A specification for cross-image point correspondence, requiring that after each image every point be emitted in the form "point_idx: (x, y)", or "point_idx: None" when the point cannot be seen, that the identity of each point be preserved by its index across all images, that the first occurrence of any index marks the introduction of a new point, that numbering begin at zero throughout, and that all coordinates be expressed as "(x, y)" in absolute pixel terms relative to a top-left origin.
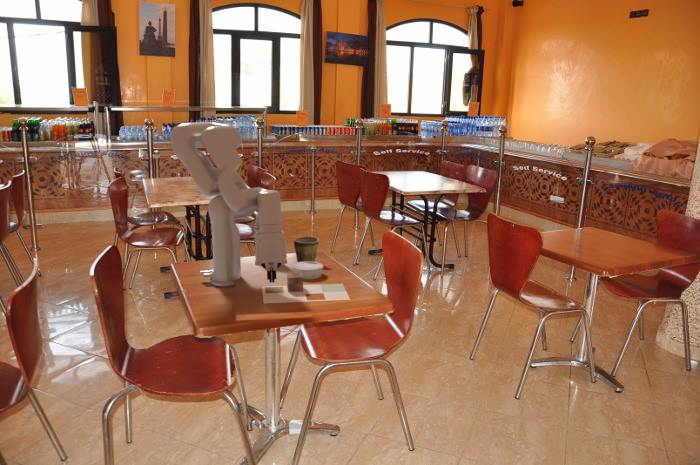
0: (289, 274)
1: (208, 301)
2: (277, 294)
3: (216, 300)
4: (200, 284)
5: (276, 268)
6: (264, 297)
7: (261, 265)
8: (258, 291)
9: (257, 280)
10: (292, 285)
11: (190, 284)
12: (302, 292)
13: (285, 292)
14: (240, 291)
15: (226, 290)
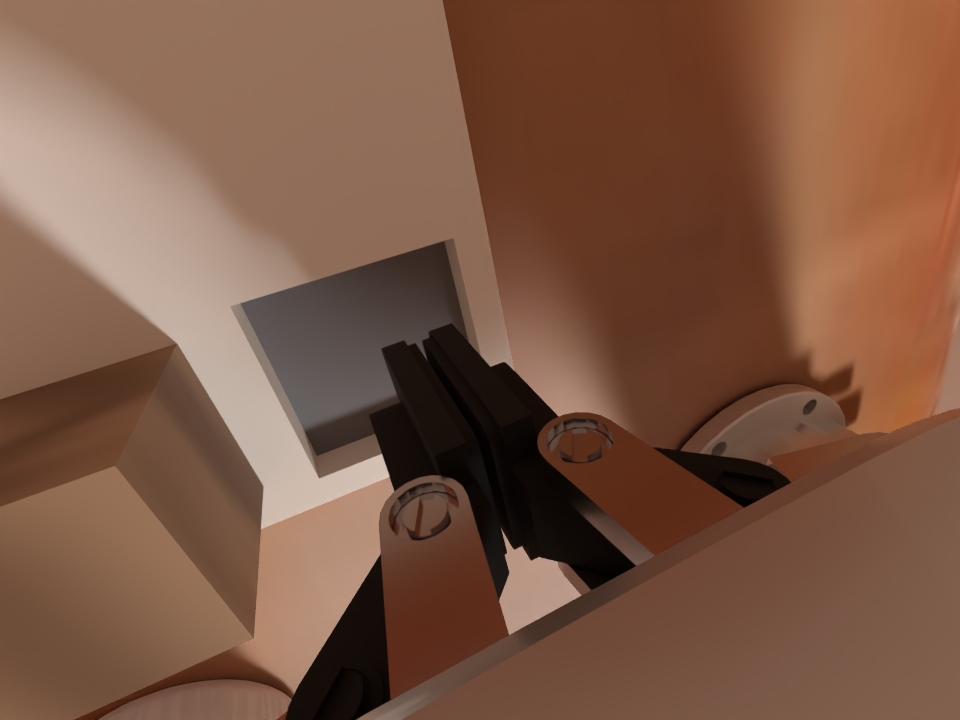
0: (182, 610)
1: (894, 51)
2: (293, 220)
3: (840, 85)
4: (870, 390)
5: (395, 537)
6: (437, 76)
7: (771, 466)
8: (534, 374)
9: None
10: (80, 409)
11: (912, 374)
12: None
13: (210, 318)
14: (666, 337)
15: (753, 332)
